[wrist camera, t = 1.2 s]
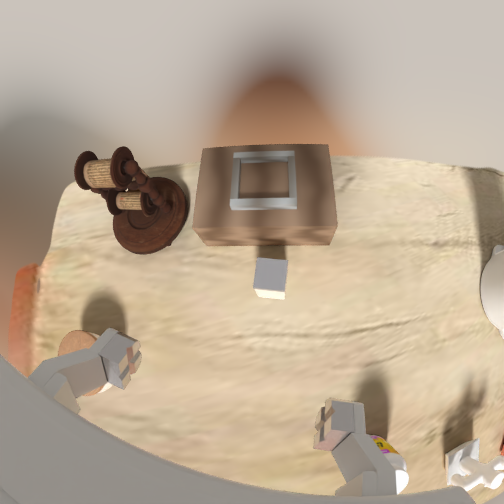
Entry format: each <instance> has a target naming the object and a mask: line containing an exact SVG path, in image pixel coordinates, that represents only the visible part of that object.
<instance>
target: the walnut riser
mask: <svg viewBox="0 0 504 504" xmlns="http://www.w3.org/2000/svg"><path fill="white" fill-rule="evenodd" d="M337 226H338V225H337V214H336V204H335V194H334V185H333V177H332V169H331V162H330V155H329V148H328V145H322V144H277V145H276V144H275V145H248V146H230V147H216V148H205V149H203V151H202V158H201V164H200V171H199V178H198V186H197V193H196V201H195V209H194V217H193V226H192V228H193V229H194V231H195V232H196V233H197V234H198V236H199V237H200V238H201V239H202V241H203V242H204V243H205V244H206V246H269V245H330V242H331V240H332V238H333V236H334V233H335V231H336V229H337Z"/></svg>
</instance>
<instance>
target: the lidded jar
mask: <svg viewBox="0 0 504 504" xmlns="http://www.w3.org/2000/svg"><path fill="white" fill-rule="evenodd" d="M99 337H100V335H97V334H94V333H90V332H86V331H81V330H75V331H71V332H70V333H68V334H67V335H66V336H65V337H64V338H63V340H62V342H61V344H60V347H59V351H58V356H61V355H65V354H68V353H71V352H75V351H78V350H81V349H84V348H87V349H89V348H90V347H91V346H92V345H93V344H94V343H95V341H96V340H97V339H98V338H99ZM112 385H113V384H111V383H109V382H108V383H107V384H105V385H103V386H101V387H99V388H97V389H94V390H92V391H90V392H88V393H86V394H84V395H82V396H91V395H94V394H97V393H101V392H103V391H105V390H107V389H109V388H110V387H111V386H112Z"/></svg>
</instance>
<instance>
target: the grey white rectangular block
mask: <svg viewBox="0 0 504 504" xmlns="http://www.w3.org/2000/svg"><path fill="white" fill-rule="evenodd" d="M287 273H288V260H279V259H269V258H259V257H257V263H256V270H255V278H254V285H253V288H254V290H255V292H256V293H257V295H258V297H265V298H274V299H283V300H285V292H286V283H287Z"/></svg>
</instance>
